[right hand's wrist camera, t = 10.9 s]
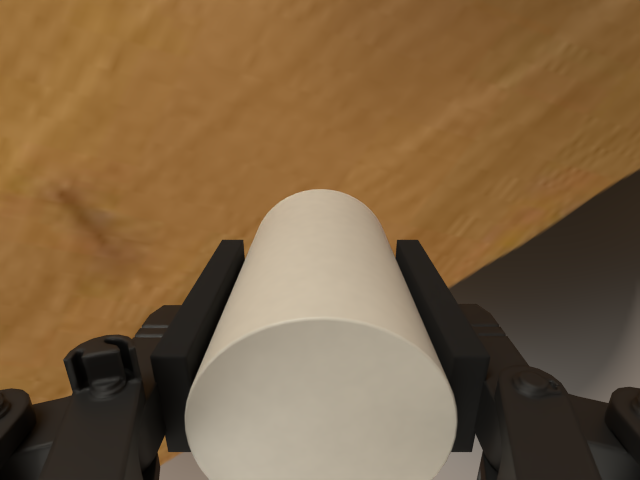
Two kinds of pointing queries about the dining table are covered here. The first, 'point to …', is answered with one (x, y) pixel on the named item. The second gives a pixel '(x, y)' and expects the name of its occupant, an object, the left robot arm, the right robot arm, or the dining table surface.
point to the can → (320, 358)
